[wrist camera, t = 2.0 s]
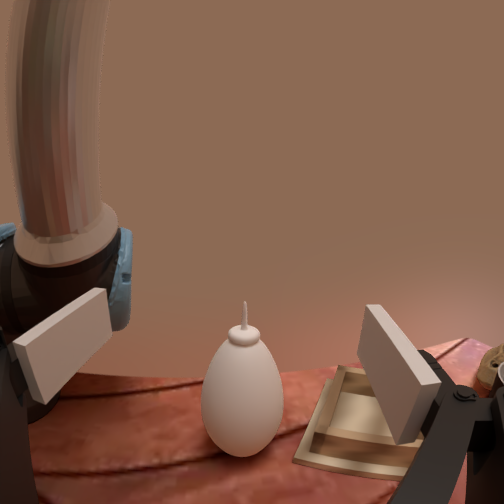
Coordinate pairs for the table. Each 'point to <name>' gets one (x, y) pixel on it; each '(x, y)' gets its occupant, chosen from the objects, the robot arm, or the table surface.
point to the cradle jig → (353, 432)
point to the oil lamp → (490, 366)
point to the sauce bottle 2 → (242, 393)
